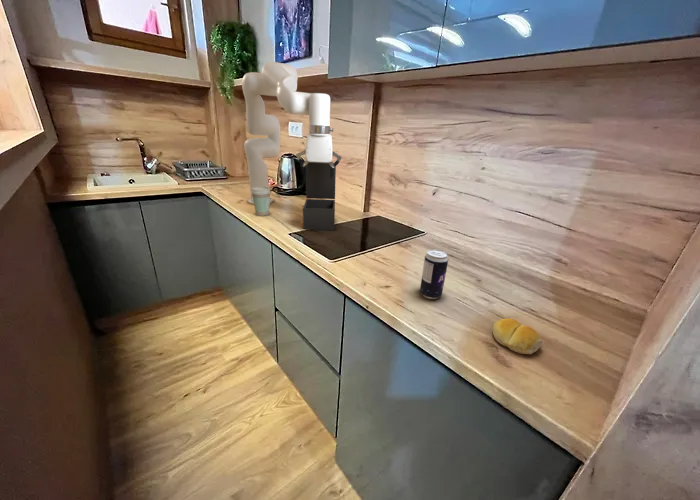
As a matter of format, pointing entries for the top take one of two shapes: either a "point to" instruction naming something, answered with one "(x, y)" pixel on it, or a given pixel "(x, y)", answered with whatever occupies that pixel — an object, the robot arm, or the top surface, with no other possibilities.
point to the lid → (320, 181)
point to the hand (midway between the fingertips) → (318, 177)
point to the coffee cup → (261, 200)
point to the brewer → (319, 214)
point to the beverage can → (434, 274)
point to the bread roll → (516, 336)
